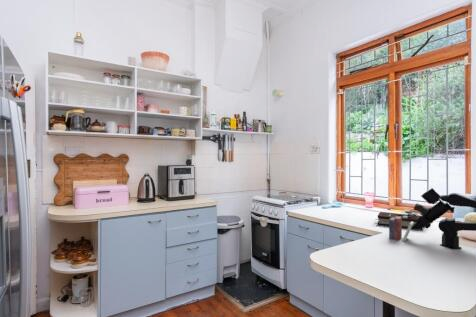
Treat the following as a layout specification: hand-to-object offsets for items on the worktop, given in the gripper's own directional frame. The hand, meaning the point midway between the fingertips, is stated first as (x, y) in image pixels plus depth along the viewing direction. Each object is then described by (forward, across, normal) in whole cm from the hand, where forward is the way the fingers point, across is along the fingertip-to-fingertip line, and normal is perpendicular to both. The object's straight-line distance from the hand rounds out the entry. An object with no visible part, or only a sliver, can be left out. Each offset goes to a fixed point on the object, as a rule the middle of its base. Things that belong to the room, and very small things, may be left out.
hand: (412, 228), depth 151 cm
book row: (+10, 0, -1) cm, 10 cm away
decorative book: (+13, -38, -2) cm, 41 cm away
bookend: (+7, 0, +2) cm, 7 cm away
